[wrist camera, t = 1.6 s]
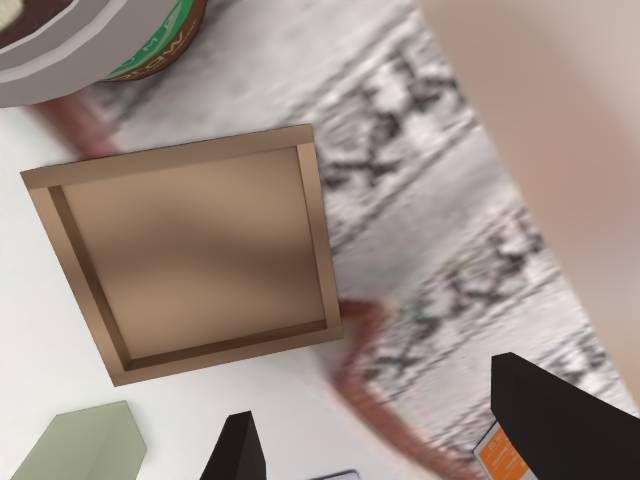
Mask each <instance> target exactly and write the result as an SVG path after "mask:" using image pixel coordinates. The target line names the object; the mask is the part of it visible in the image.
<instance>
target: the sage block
mask: <svg viewBox="0 0 640 480" xmlns="http://www.w3.org/2000/svg"><path fill="white" fill-rule="evenodd" d="M146 450H147V448H146V445H145V443H144V441H143V439H142V436H141V434H140V432H139V429H138V427H137V425H136V422H135V420H134V418H133V416H132V413H131V411H130V409H129V406H128V404H127V402H126V400H124V401H120V402H115V403H111V404H106V405H101V406H97V407H92V408H88V409H83V410H78V411H74V412H69V413H65V414H60V415H56V416H55V418H54V419H53V420H52V422H51V423H50V425H49V426H48V427H47V429H46V430H45V432H44V433H43V434H42V436H41V437H40V439H39V440H38V441H37V443H36V444H35V446H34V447H33V449H32V450H31V451H30V453H29V454H28V456H27V457H26V458H25V460H24V461H23V463H22V464H21V465H20V467H19V468H18V470H17V471H16V472H15V474H14V475H13V477H12V478H11V479H10V480H136V478H137V475H138V472H139V469H140V467H141V464H142V461H143V459H144V456H145V453H146Z"/></svg>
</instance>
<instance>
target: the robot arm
mask: <svg viewBox="0 0 640 480" xmlns="http://www.w3.org/2000/svg"><path fill="white" fill-rule="evenodd" d="M491 411H492V412H493V414H494V416H495V418H496V419H497V421H498V423H499V425H500V426H501V428H502V430H503V431H504V433H505V435H506V436H507V438H508V439H509V441H510V443H511V444H512V446H513V447H514V448H515V450H516V451H517V452H518V454H519V455H520V456H521V458H522V459H523V460H524V462H525V463H526V464H527V466H528V467H529V468H530V470H531V471H532V472H533V474H534V475H535V476H536V478H537V479H538V480H640V419H639V418H637V417H634V416H632V415H630V414H628V413H626V412H624V411H622V410H620V409H618V408H616V407H614V406H612V405H610V404H608V403H606V402H604V401H602V400H600V399H598V398H596V397H594V396H592V395H590V394H588V393H586V392H585V391H583V390H581V389H579V388H577V387H575V386H573V385H571V384H570V383H568V382H566V381H564V380H562V379H560V378H558V377H557V376H555V375H553V374H551V373H549V372H547V371H546V370H544V369H542V368H540V367H538V366H536V365H535V364H533V363H531V362H529V361H527V360H525V359H524V358H522V357H520V356H518V355H516V354H514V353H512V352H509V353H504V354H500V355H495V356H492V363H491ZM200 480H266V462H265V459H264V455H263V452H262V448H261V444H260V441H259V437H258V434H257V430H256V427H255V423H254V420H253V416H252V413H251V411H247V412H242V413H238V414H233V415H229V417H228V418H227V419H226V422H225V424H224V427H223V429H222V431H221V434H220V436H219V439H218V441H217V443H216V445H215V448H214V450H213V452H212V454H211V457H210V459H209V461H208V463H207V465H206V467H205V469H204V472H203V474H202V476H201V478H200ZM324 480H359V476H358V474H356V473H348V474H344V475H340V476H336V477H332V478H328V479H324Z"/></svg>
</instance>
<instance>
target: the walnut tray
mask: <svg viewBox="0 0 640 480" xmlns="http://www.w3.org/2000/svg"><path fill="white" fill-rule="evenodd" d="M20 174H21V176H22V179H23V181H24V183H25V186H26V188H27V190H28V192H29V195H30V197H31V199H32V201H33V204H34V206H35V208H36V210H37V213H38V215H39V217H40V219H41V222H42V224H43V226H44V229H45V231H46V233H47V235H48V238H49V240H50V242H51V244H52V247H53V249H54V251H55V253H56V256H57V258H58V260H59V263H60V265H61V267H62V269H63V272H64V274H65V276H66V278H67V281H68V283H69V285H70V287H71V290H72V292H73V294H74V296H75V299H76V301H77V303H78V306H79V308H80V310H81V312H82V315H83V317H84V319H85V321H86V324H87V326H88V328H89V330H90V333H91V335H92V337H93V340H94V342H95V344H96V346H97V349H98V351H99V353H100V355H101V358H102V360H103V362H104V364H105V367H106V369H107V371H108V373H109V376H110V378H111V380H112V383H113V385H114V387H117V386H122V385H127V384H131V383H136V382H141V381H145V380H150V379H155V378H159V377H164V376H169V375H174V374H178V373H183V372H188V371H192V370H197V369H202V368H206V367H211V366H216V365H220V364H225V363H230V362H234V361H239V360H244V359H248V358H253V357H258V356H262V355H267V354H272V353H276V352H281V351H286V350H290V349H295V348H300V347H305V346H309V345H314V344H319V343H323V342H328V341H333V340H337V339H342V338H344V337H343V330H342V324H341V317H340V311H339V304H338V297H337V291H336V284H335V278H334V271H333V264H332V258H331V251H330V245H329V238H328V232H327V225H326V218H325V212H324V205H323V199H322V192H321V185H320V179H319V172H318V166H317V159H316V152H315V146H314V139H313V133H312V126H311V124H302V125H296V126H290V127H284V128H278V129H272V130H266V131H260V132H253V133H247V134H241V135H235V136H229V137H223V138H217V139H211V140H205V141H198V142H192V143H186V144H180V145H174V146H168V147H162V148H156V149H150V150H144V151H137V152H131V153H125V154H119V155H113V156H107V157H101V158H95V159H89V160H82V161H76V162H70V163H64V164H58V165H52V166H46V167H40V168H35V169H31V170H26V171H22V172H20Z"/></svg>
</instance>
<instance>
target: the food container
mask: <svg viewBox="0 0 640 480" xmlns="http://www.w3.org/2000/svg"><path fill="white" fill-rule="evenodd" d="M207 1H208V0H0V108H6V107H16V106H26V105H33V104H37V103H40V102H44V101H48V100H51V99H55V98H58V97H62V96H66V95H69V94H71V93H74V92H76V91H78V90H80V89H82V88H84V87H86V86H88V85H90V84H92V83H94V82H115V81H130V80H140V79H143V78H145V77H148V76H150V75H152V74H155V73H157V72H160V71H162V70H164V69H165V68H167V67H168V66H169V65H171V64H172V63H173V62H175V61H176V60H177V59H178V58H179V57H180V56H181V55H182V54H183V53H184V52H185V51H186V50H187V49H188V47H189V45H190V44H191V42H192V41H193V39H194V38H195V36H196V34H197V32H198V30H199V27H200V25H201V23H202V20H203V18H204V14H205V10H206V5H207Z"/></svg>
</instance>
